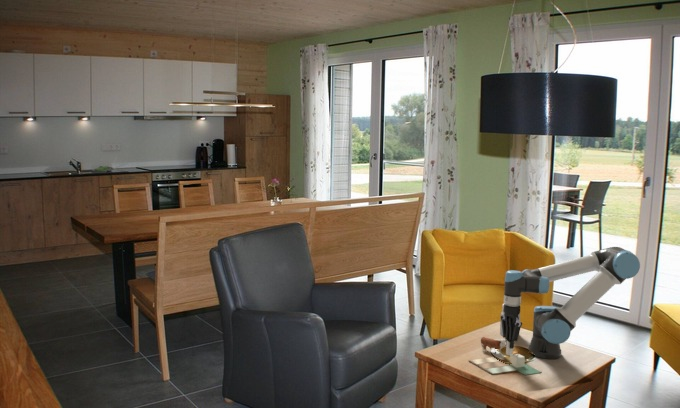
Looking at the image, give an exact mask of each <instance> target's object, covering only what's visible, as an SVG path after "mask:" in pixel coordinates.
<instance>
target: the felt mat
mask: <svg viewBox="0 0 680 408" xmlns="http://www.w3.org/2000/svg"><path fill="white" fill-rule="evenodd" d="M508 365H509V364H508ZM510 366H512V365H510ZM512 367H514V366H512ZM514 368H516V367H514ZM516 369H517V370H519V371H517V372H518V373H520V374H522V375H524V376H529V375H535V374H541V373H542V371H541V370H539V369H536V368H534V367H532V366H530V365H529V364H526V363H524V367H518V368H516Z"/></svg>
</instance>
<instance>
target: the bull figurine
mask: <svg viewBox="0 0 680 408" xmlns="http://www.w3.org/2000/svg"><path fill="white" fill-rule="evenodd" d="M480 344H481V349H482V350H484V352H488V350H487V347H488V348H489V349H490V350H491V349H494V350H495V349H500V351H501V350H502V349H503V348H506V339H501V338H499V339H494V338H489V337H484V336H483V337H481V338H480Z"/></svg>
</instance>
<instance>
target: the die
mask: <svg viewBox="0 0 680 408" xmlns="http://www.w3.org/2000/svg"><path fill="white" fill-rule="evenodd" d="M509 356H510V357H509V362H511V363H512V364H510V365H512V366H514V367H516V368H518V367H524V364H526V363H525V360H526V358H525V356H524V355H522V354H520V353H516V354H515V353H513V355H509Z"/></svg>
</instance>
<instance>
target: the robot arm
mask: <svg viewBox="0 0 680 408" xmlns="http://www.w3.org/2000/svg"><path fill="white" fill-rule="evenodd" d="M640 268H641V262H640V260H639V257H638V256H637V255H636V254H635V253H633V252H632V251H630V250H627V249H624V248H622V247H620V246H611V247H607V248H603V249H599V250H596V251H592V252H591V253H590V254H589V255H586V256H581V257H577V258H574V259H573V258H572V259H570V260H565V261H562V262H559V263H554V264H551V265H547V266H543V267H539V268H534V269H524V270H522V271H520V270H513V269H511V270H507V271H505V277H504V293H503V294H504V295H503V304H504V303H505V304H504V306H503V305H502V310H503V312H504V313H505V314H504V316H501V315H500V321H502V330H503V336H502V337H503V338H505V339H504V340H506V342H505V344H506V347H505V355H506V356H510V355H513V354H514V348H515V346H514V345H515V342H517V341H518V340H519V337H520V331H521V328H522V326H523V322H521V321H520V322H519V317H518V315H519V314H520V315H521V304H522V303H521V302H522V293H527V294H529V293H530V294H547V293H549V291H550V282H556V281H559V280H563V279H567V278H571V277H576V276H579V275H582V274H583V275H584V274H587V273H590V272H594V271H595V272H596V274H594V275H593V276H592V277H591V279H590V280H588V281H587V282H586V283H585V284H584V285H583V286H582V287H581V288H580V289H579V290H577V292H576V293H575V294H574V295H572V296H571V297H570V299H568V300H567V301H566V303H564V304H563V305H562V306H561V307H556V306H550V305H537V306H535V307H534V309H533V323H532V324H533V325H532V337H531V340H530V343H529V345H528V347H527V349H529V350H530V351H532V352H533V353H534V354H535V356H534V357H537V358H540V359H558V358H559V359H560V358H561V357H562V349H561V345H560V344H563V343H566V341H568V340H569V339H570V336H571V332H572V331H573V330H574V329H575V327H576V322H577V321H578V320H579V319H580V318H581V317H582V316H583V315H584V314H585V313H587V312H588V311H589V310H590V308H592V307H593V306H594V305H595V304H596V303H597V302H598V301H599V300H600V299H601V298H602V297H603V296H604V295H606V293H607V292H608V291H610V290H611V289H612V288H613V287H614V286H615V285H621V284H622V283H624V281H626V280H627V279H632V278H634V277H635V276H637V274H639V272H640ZM505 334H506V335H505ZM518 336H519V337H518Z"/></svg>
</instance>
